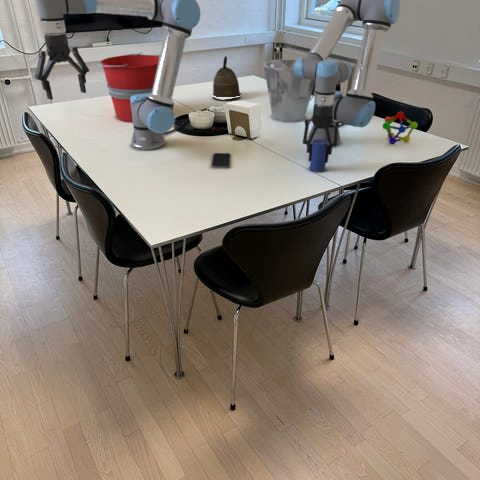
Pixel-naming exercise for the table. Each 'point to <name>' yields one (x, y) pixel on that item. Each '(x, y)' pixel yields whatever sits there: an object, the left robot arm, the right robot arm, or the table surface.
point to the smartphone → (221, 160)
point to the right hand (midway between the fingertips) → (318, 161)
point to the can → (318, 155)
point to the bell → (225, 82)
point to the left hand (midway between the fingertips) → (67, 95)
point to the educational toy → (398, 128)
